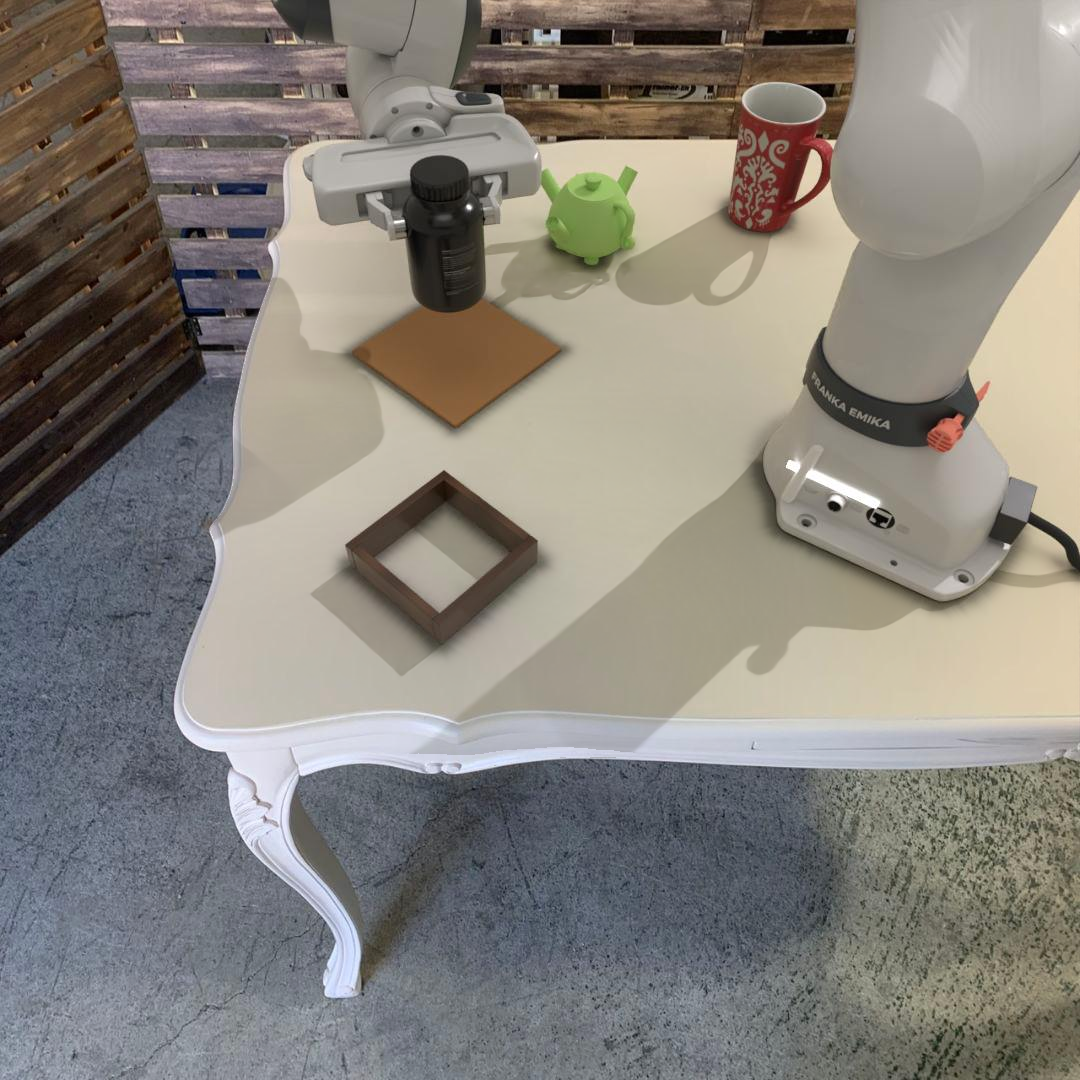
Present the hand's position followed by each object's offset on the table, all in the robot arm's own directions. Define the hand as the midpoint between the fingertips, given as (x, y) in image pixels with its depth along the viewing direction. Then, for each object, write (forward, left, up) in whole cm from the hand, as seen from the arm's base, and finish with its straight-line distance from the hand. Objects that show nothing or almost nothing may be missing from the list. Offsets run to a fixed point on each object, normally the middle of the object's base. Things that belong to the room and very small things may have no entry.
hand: (446, 225), depth 76 cm
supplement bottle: (+1, 0, -8) cm, 8 cm away
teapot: (+5, -25, -17) cm, 31 cm away
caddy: (-16, +17, -17) cm, 29 cm away
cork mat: (+2, -2, -17) cm, 17 cm away
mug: (-8, -43, -17) cm, 47 cm away
